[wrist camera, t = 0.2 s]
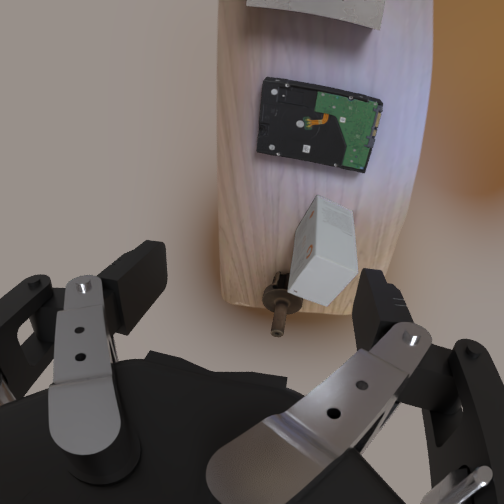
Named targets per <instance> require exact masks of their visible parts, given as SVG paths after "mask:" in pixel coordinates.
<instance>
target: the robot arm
mask: <svg viewBox="0 0 504 504" xmlns="http://www.w3.org/2000/svg"><path fill="white" fill-rule="evenodd" d="M166 284H167V262H166V248H165V244H164V243H163V242H158V241H150V240H146V241H144V242H143V243H142V244H140V245H139V246H138V247H137V248H135V249H134V250H132V251H129V252H127V253H125V254H123V255H122V256H121V257H119V258H118V259H117V260H116V261H114V262H113V263H112V265H109V266H108V267H107V268H106V269H104V270H103V271H102V272H101V273H100V274H98V275H97V276H93V275H84V276H79V277H77V278H74V279H72V280H71V281H69V282H68V283H67V285H66V288H52V284H51V280H50V277H48V276H47V275H34V276H31V277H28V278H26V279H25V280H23V281H22V282H21V283H19V284H18V285H17V286H16V287H14V288H13V289H12V290H11V291H9V292H8V293H7V294H6V295H4V296H3V297H2V298H1V299H0V504H406V503H405V502H404V501H403V500H402V499H401V498H400V497H399V496H398V495H397V494H396V493H395V492H394V491H393V490H392V488H391V487H390V486H389V485H388V484H387V483H386V482H385V481H384V480H383V479H382V478H381V477H380V475H378V473H377V472H376V471H375V470H374V469H373V468H372V467H371V466H370V464H369V463H368V462H367V461H366V460H365V459H364V458H363V457H362V455H361V454H362V453H363V452H364V451H365V450H366V448H367V447H368V445H369V444H370V443H371V442H372V440H373V439H374V438H375V436H376V435H377V434H378V433H379V431H380V430H381V429H382V428H383V426H384V425H385V424H386V422H387V421H388V420H389V419H390V417H391V416H392V415H393V413H394V412H395V411H396V409H397V408H398V406H399V405H400V404H401V402H402V403H405V404H409V405H412V406H415V407H419V408H422V414H423V420H424V427H425V433H426V440H427V448H428V456H429V465H430V475H431V486H432V489H431V490H430V491H429V492H428V493H427V494H426V495H425V496H424V497H423V499H422V501H421V503H420V504H504V385H503V382H502V380H501V378H500V376H499V373H498V371H497V369H496V367H495V365H494V363H493V361H492V358H491V357H490V354H489V353H488V351H487V350H486V348H485V347H484V346H482V345H481V344H480V343H478V342H476V341H473V340H470V339H461V340H458V341H457V342H456V343H455V345H454V348H453V350H451V349H447V348H444V347H440V346H437V345H434V344H432V337H431V335H430V333H429V332H428V331H427V330H426V329H425V328H423V327H422V326H420V325H417V324H415V323H414V322H413V319H412V317H411V315H410V313H409V310H408V308H407V307H406V303H405V301H404V298H403V296H402V294H401V292H400V290H399V289H397V288H396V287H395V286H394V285H393V284H389V283H387V282H386V279H385V277H384V275H383V272H382V271H381V270H375V269H367V268H363V269H362V272H361V275H360V279H359V283H358V288H357V292H356V296H355V300H354V304H353V311H352V319H353V326H354V332H355V339H356V346H357V352H356V353H355V354H354V355H353V356H352V357H350V358H349V359H348V360H347V361H346V362H345V363H344V364H343V365H342V366H341V367H339V368H338V369H337V370H336V371H335V372H334V373H332V374H331V375H330V376H329V377H328V378H326V379H325V381H323V382H322V383H321V384H319V385H318V386H317V387H316V388H314V389H313V390H312V391H311V392H310V393H308V394H307V395H306V396H304V395H302V394H300V393H298V392H296V391H294V390H292V389H289V388H286V384H287V377H283V376H276V375H268V374H262V373H256V372H213V371H209V370H207V369H205V368H202V367H200V366H198V365H196V364H193V363H191V362H189V361H187V360H184V359H182V358H179V357H175V356H171V355H167V354H163V353H158V352H154V351H151V350H150V351H149V353H148V354H147V356H146V357H145V359H130V360H124V361H118V356H117V351H116V346H115V341H114V337H113V335H114V333H115V332H116V333H120V334H123V335H129V333H130V332H131V331H132V329H133V328H134V327H135V326H136V324H137V323H138V322H139V321H140V319H141V318H142V317H143V315H144V314H145V313H146V312H147V311H148V309H149V308H150V307H151V306H152V304H153V303H154V302H155V301H156V299H157V298H158V297H159V296H160V295H161V293H162V292H163V291H164V289H165V287H166ZM28 318H29V319H30V322H31V324H32V327H33V330H34V332H33V334H32V335H31V336H30V337H29V338H28V339H27V340H26V341H25V342H24V343H23V344H22V345H21V346H20V344H19V341H18V338H17V332H18V329H19V327H20V326H21V325H22V324H23V323H24V322H25V321H26V320H27V319H28ZM53 359H54V373H53V383H52V384H51V385H50V386H49V388H48V389H45V390H42V391H40V392H37V393H34V394H31V395H29V396H26V397H24V395H25V394H26V393H27V391H28V390H29V389H30V387H31V386H32V385H33V384H34V382H35V381H36V380H37V379H38V377H39V376H40V375H41V373H42V372H43V371H44V370H45V369H46V367H47V366H48V365H49V364H50V362H51V361H52V360H53ZM461 406H462V407H463V411H462V408H461Z"/></svg>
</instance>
